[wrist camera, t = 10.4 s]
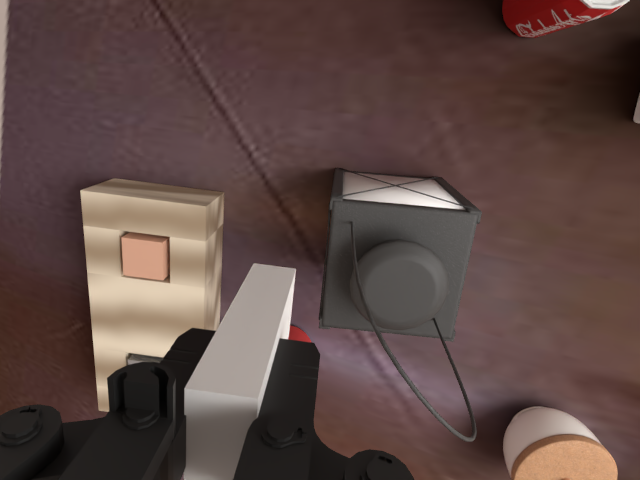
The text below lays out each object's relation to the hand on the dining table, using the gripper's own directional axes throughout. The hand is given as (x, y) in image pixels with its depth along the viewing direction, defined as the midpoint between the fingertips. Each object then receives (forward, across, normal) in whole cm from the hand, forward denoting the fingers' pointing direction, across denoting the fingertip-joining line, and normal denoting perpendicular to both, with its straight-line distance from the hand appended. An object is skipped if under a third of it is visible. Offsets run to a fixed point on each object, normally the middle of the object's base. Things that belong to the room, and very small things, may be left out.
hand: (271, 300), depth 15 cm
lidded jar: (+30, +31, -29) cm, 51 cm away
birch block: (+29, -16, -17) cm, 38 cm away
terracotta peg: (+29, -16, -10) cm, 34 cm away
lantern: (+30, +7, -5) cm, 31 cm away
